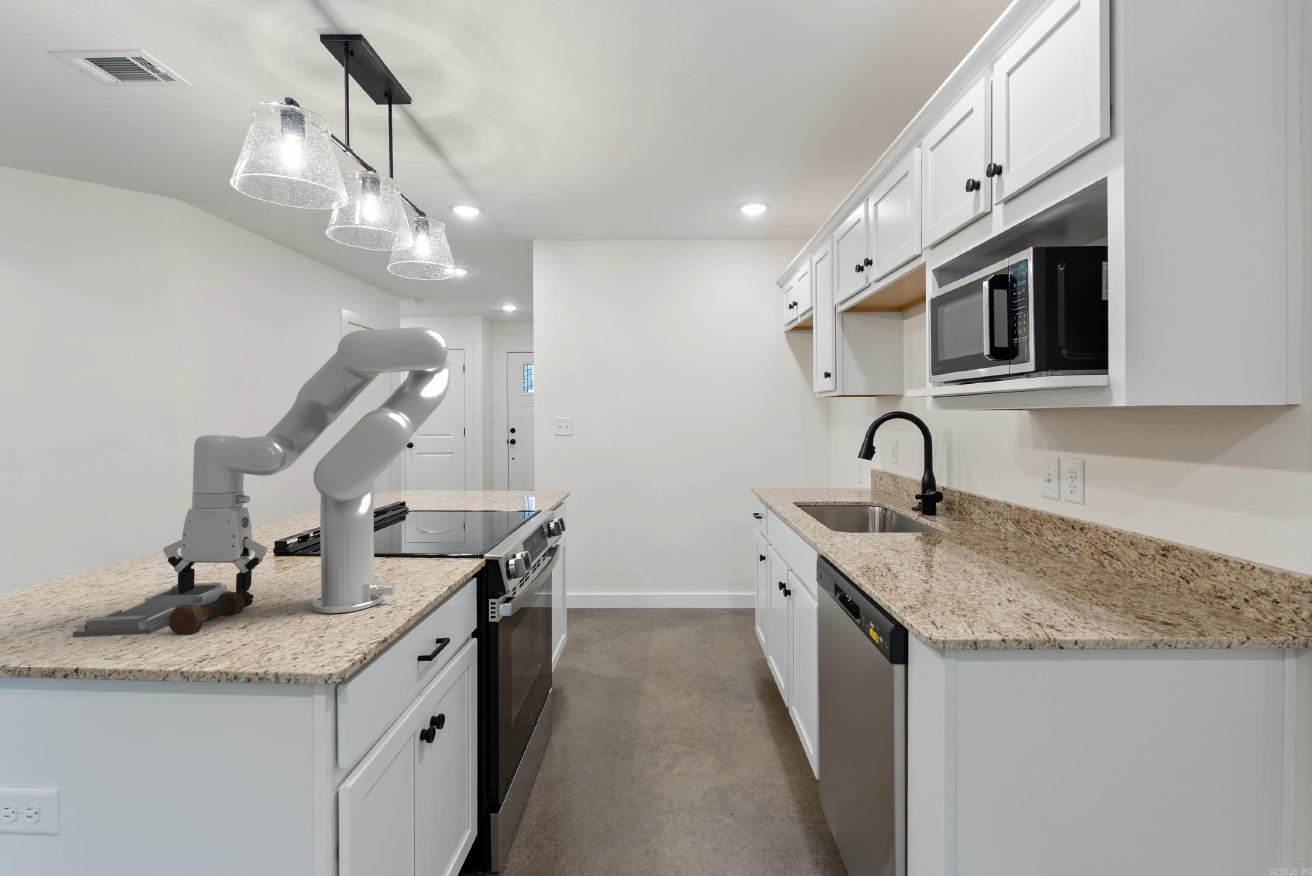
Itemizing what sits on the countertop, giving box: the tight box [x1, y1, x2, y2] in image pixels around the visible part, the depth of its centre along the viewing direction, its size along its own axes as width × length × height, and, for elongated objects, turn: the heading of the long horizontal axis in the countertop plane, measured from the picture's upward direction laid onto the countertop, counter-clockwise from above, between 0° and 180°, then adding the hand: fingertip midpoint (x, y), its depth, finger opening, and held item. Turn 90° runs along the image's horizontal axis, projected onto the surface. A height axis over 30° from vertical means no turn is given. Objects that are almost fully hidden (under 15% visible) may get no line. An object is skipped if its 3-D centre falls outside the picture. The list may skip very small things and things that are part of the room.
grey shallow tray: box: [77, 582, 228, 632], centre depth 109 cm, size 10×23×2 cm, turn 8°
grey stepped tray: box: [72, 589, 232, 638], centre depth 109 cm, size 12×23×1 cm, turn 8°
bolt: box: [168, 591, 255, 636], centre depth 106 cm, size 6×5×15 cm
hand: (214, 591), depth 105 cm, fingers open, 9 cm apart
